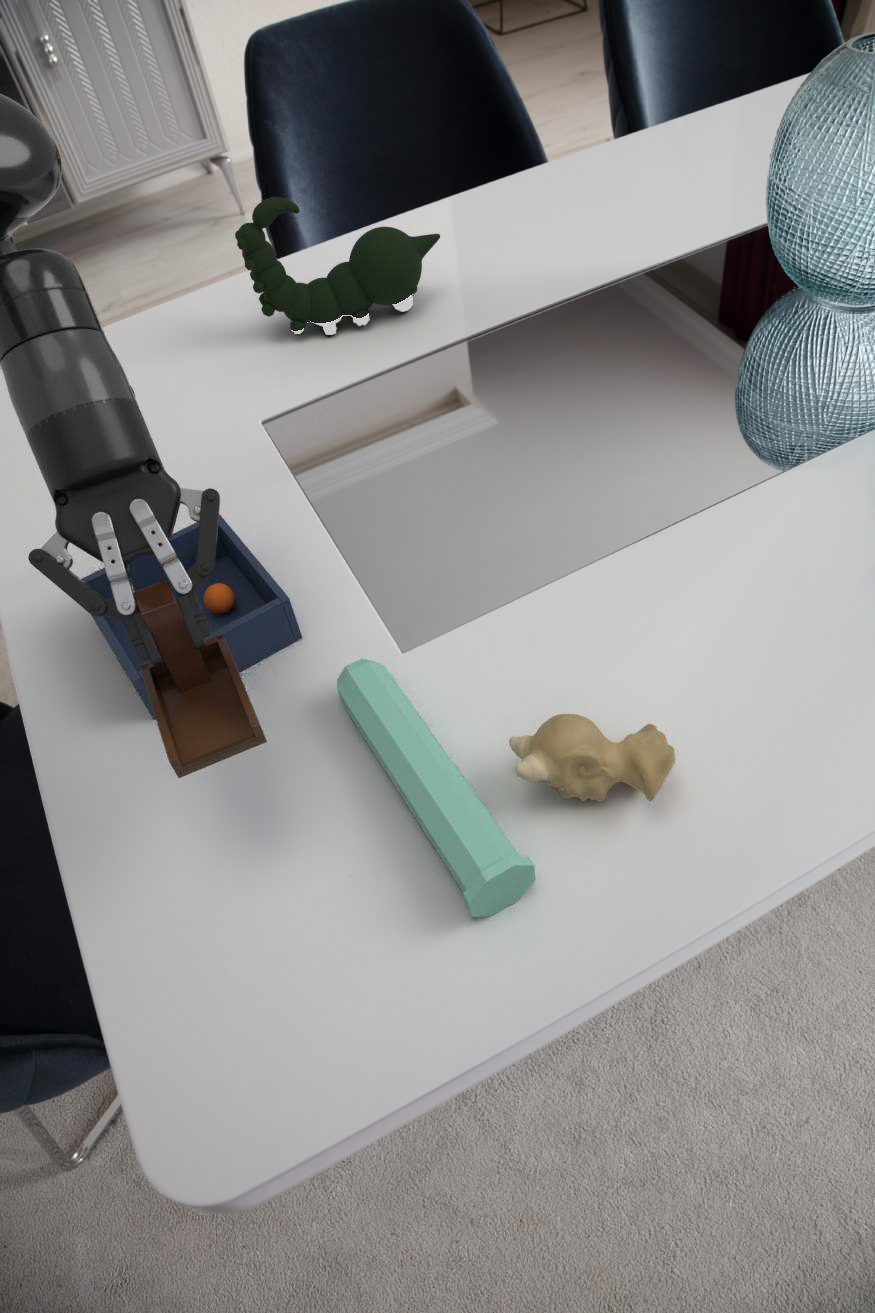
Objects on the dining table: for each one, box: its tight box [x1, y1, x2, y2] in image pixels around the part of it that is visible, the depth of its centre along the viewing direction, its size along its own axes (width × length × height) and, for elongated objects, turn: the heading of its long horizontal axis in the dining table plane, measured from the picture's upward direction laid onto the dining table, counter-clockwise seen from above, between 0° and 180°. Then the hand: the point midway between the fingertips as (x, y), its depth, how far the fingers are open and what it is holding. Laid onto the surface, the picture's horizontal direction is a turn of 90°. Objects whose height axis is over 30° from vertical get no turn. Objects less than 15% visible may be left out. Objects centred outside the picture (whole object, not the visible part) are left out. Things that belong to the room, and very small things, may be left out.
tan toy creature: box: [508, 713, 676, 802], centre depth 73 cm, size 8×7×12 cm
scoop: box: [134, 580, 268, 779], centre depth 63 cm, size 10×6×9 cm
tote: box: [80, 513, 303, 721], centre depth 89 cm, size 16×16×6 cm
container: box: [336, 658, 536, 918], centre depth 75 cm, size 6×6×25 cm
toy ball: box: [203, 583, 235, 614], centre depth 90 cm, size 3×3×3 cm
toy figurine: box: [234, 196, 441, 331], centre depth 118 cm, size 9×19×25 cm
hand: (180, 654), depth 64 cm, fingers closed on scoop, 2 cm apart
